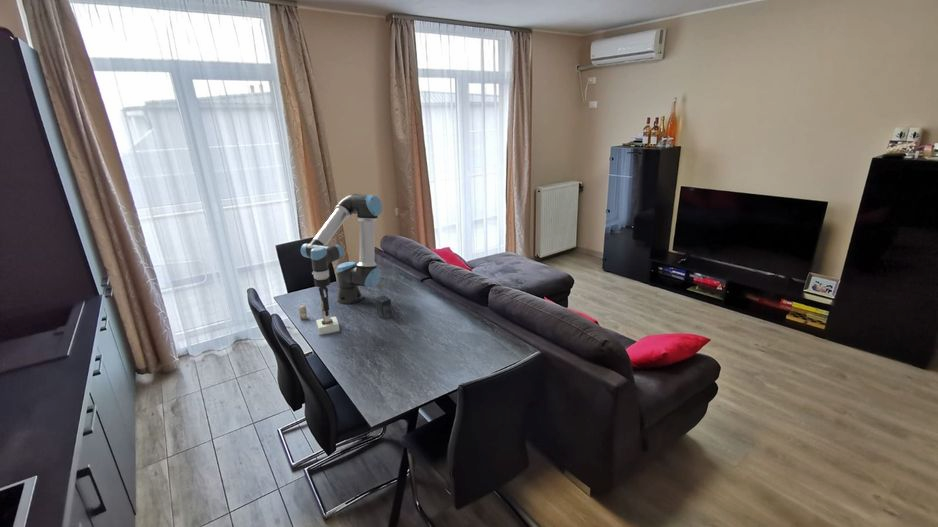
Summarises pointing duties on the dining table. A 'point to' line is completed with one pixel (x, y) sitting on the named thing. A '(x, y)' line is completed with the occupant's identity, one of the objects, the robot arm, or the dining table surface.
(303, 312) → the short pin
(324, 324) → the long pin
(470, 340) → the dining table surface
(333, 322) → the hole block
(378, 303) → the box
